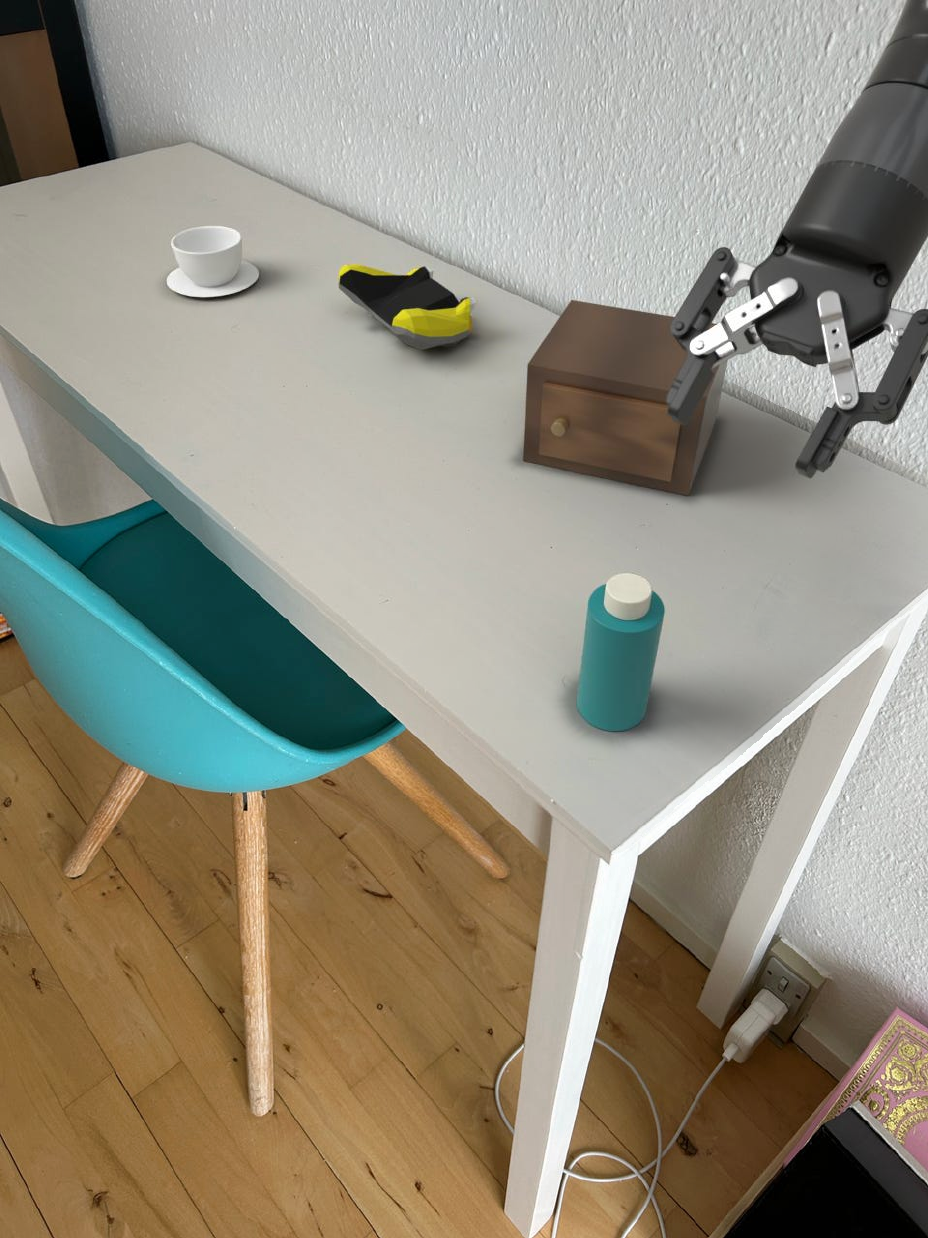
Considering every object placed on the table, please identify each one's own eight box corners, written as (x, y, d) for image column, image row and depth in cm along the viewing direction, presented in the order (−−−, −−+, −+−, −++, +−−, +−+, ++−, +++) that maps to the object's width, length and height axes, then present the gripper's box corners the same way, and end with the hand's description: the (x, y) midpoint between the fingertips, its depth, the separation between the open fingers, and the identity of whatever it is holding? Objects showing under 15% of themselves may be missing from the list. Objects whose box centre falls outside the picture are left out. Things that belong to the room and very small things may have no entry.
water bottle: (653, 690, 63) (675, 572, 56) (636, 740, 60) (658, 621, 53) (587, 673, 64) (601, 555, 57) (568, 720, 61) (580, 602, 54)
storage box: (715, 421, 86) (734, 326, 80) (684, 505, 77) (703, 405, 71) (564, 392, 90) (571, 299, 84) (517, 469, 81) (521, 371, 75)
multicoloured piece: (405, 375, 92) (493, 348, 96) (402, 321, 89) (494, 294, 93) (333, 314, 102) (416, 291, 106) (328, 262, 98) (414, 241, 102)
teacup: (272, 288, 106) (266, 246, 103) (182, 308, 103) (173, 265, 99) (242, 255, 113) (235, 214, 109) (156, 273, 109) (147, 231, 106)
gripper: (751, 130, 57) (617, 382, 58) (1001, 188, 50) (841, 473, 51) (775, 198, 63) (654, 423, 65) (999, 258, 56) (857, 508, 58)
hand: (737, 445), depth 58 cm, fingers open, 8 cm apart
